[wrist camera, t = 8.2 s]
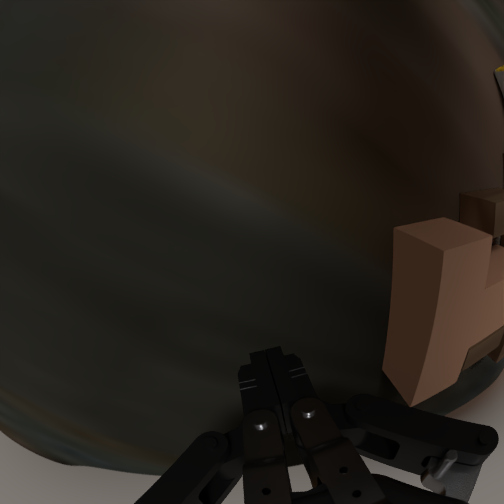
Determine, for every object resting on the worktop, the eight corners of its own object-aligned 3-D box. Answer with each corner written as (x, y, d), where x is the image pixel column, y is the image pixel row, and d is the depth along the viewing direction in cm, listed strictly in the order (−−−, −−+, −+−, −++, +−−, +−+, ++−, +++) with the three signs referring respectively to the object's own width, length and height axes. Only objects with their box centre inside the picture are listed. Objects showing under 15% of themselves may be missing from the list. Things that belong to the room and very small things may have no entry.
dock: (458, 152, 13) (495, 156, 10) (513, 154, 13) (542, 158, 10) (433, 372, 18) (452, 393, 15) (488, 338, 19) (507, 353, 16)
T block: (393, 227, 13) (444, 251, 10) (499, 205, 14) (539, 218, 11) (381, 369, 17) (410, 407, 13) (481, 321, 18) (510, 343, 14)
